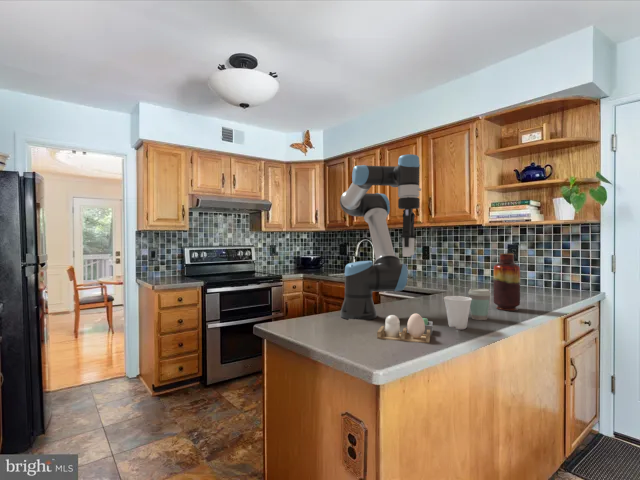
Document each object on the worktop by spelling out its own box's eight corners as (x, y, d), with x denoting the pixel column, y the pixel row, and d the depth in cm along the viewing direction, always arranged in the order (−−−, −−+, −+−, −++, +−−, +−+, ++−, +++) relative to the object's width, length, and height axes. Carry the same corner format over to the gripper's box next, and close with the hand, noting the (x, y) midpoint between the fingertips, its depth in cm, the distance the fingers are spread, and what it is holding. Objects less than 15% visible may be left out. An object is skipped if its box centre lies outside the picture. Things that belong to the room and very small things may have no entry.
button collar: (410, 336, 120) (410, 324, 120) (412, 331, 127) (412, 319, 127) (432, 338, 118) (432, 326, 118) (432, 332, 124) (432, 321, 124)
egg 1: (384, 337, 115) (384, 315, 115) (386, 333, 120) (386, 313, 120) (398, 338, 114) (398, 316, 114) (400, 334, 118) (400, 314, 118)
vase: (498, 306, 175) (498, 253, 175) (523, 309, 167) (523, 253, 167) (490, 309, 167) (490, 253, 167) (516, 312, 159) (516, 254, 159)
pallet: (377, 341, 114) (377, 331, 114) (381, 334, 122) (381, 325, 122) (429, 346, 109) (429, 336, 109) (430, 338, 117) (430, 329, 117)
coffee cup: (486, 316, 151) (486, 288, 151) (494, 321, 142) (494, 291, 142) (465, 316, 152) (465, 288, 152) (471, 320, 143) (471, 291, 143)
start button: (415, 332, 121) (415, 319, 121) (416, 330, 125) (416, 317, 125) (427, 334, 120) (427, 320, 120) (428, 331, 123) (428, 318, 123)
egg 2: (407, 340, 112) (407, 314, 112) (406, 335, 117) (406, 311, 117) (425, 340, 111) (426, 315, 111) (423, 336, 116) (423, 312, 116)
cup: (471, 325, 135) (471, 296, 135) (473, 332, 126) (473, 300, 126) (443, 323, 138) (443, 295, 138) (443, 329, 129) (443, 299, 129)
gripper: (416, 193, 117) (416, 257, 117) (421, 201, 140) (421, 254, 141) (393, 194, 119) (393, 257, 119) (402, 201, 143) (402, 254, 143)
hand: (408, 255), depth 130 cm, fingers open, 13 cm apart
